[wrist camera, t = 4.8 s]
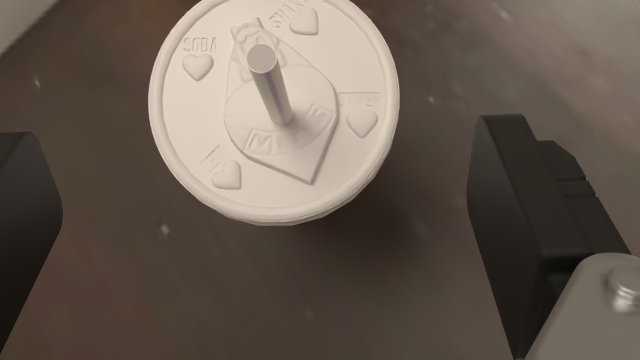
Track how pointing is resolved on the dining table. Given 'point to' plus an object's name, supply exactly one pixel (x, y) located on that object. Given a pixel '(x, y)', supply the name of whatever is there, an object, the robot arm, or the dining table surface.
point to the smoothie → (274, 106)
